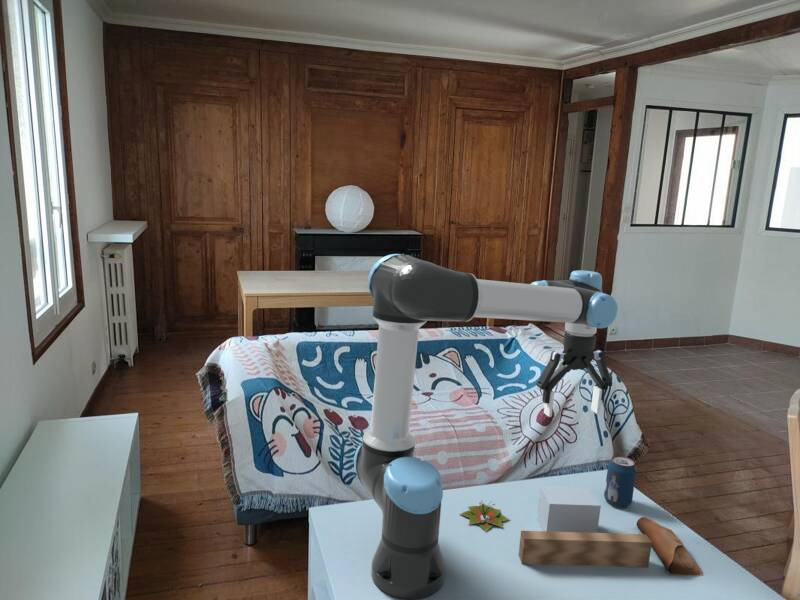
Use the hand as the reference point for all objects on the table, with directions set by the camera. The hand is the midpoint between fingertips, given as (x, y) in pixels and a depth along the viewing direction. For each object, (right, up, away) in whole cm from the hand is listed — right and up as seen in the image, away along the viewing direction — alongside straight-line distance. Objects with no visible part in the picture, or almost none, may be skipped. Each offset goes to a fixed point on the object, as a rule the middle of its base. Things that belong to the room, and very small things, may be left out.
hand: (571, 413), depth 147 cm
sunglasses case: (+18, -29, -15) cm, 37 cm away
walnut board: (-4, -28, -20) cm, 35 cm away
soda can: (+14, -25, +5) cm, 29 cm away
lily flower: (-23, -25, -5) cm, 35 cm away
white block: (-4, -26, -9) cm, 28 cm away
